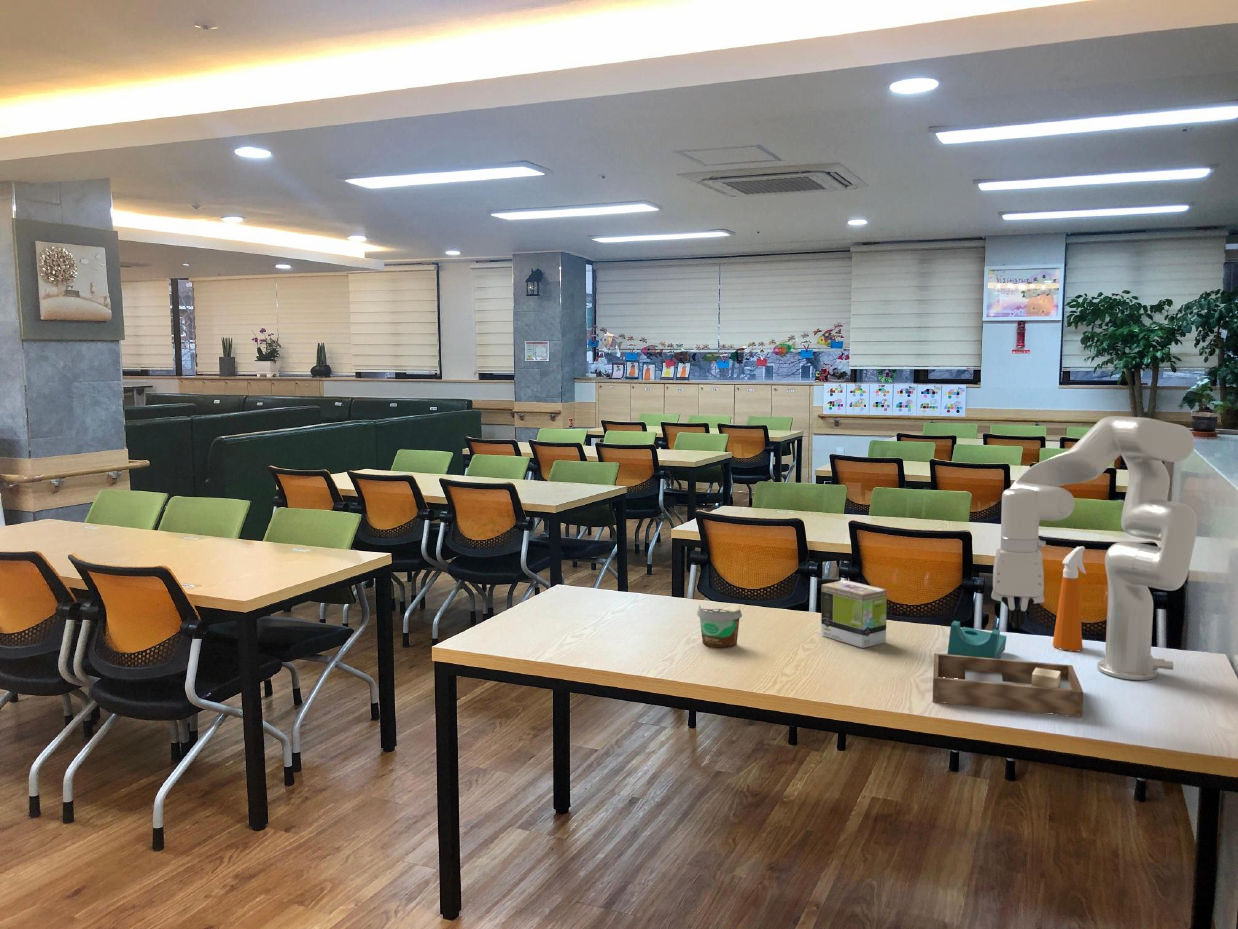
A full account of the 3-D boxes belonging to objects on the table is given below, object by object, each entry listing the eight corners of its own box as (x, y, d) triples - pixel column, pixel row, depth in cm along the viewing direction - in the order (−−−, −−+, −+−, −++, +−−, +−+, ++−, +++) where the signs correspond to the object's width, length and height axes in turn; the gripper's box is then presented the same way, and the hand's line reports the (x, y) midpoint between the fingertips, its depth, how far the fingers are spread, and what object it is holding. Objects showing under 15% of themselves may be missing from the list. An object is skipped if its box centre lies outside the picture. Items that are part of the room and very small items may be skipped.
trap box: (1071, 688, 210) (1072, 665, 210) (1082, 717, 194) (1083, 692, 193) (933, 675, 220) (934, 653, 220) (932, 702, 204) (933, 678, 203)
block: (1059, 693, 201) (1060, 671, 200) (1056, 700, 197) (1057, 678, 196) (1034, 689, 203) (1035, 667, 203) (1031, 696, 199) (1031, 674, 199)
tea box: (887, 642, 246) (888, 588, 245) (862, 649, 241) (862, 594, 239) (844, 629, 259) (845, 578, 257) (819, 635, 253) (820, 583, 252)
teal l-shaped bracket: (992, 675, 222) (997, 634, 220) (945, 664, 227) (951, 624, 225) (1004, 654, 237) (1009, 616, 235) (960, 644, 242) (965, 607, 241)
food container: (691, 647, 245) (691, 610, 244) (698, 640, 250) (697, 605, 249) (736, 652, 240) (736, 615, 239) (742, 645, 246) (742, 609, 245)
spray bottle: (1095, 645, 241) (1099, 547, 238) (1073, 653, 235) (1077, 552, 232) (1069, 639, 247) (1073, 543, 244) (1047, 646, 241) (1051, 548, 238)
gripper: (1054, 543, 201) (1052, 624, 203) (981, 540, 206) (979, 619, 208) (1059, 550, 194) (1055, 634, 196) (983, 546, 199) (980, 629, 201)
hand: (1016, 626), depth 202 cm, fingers closed
